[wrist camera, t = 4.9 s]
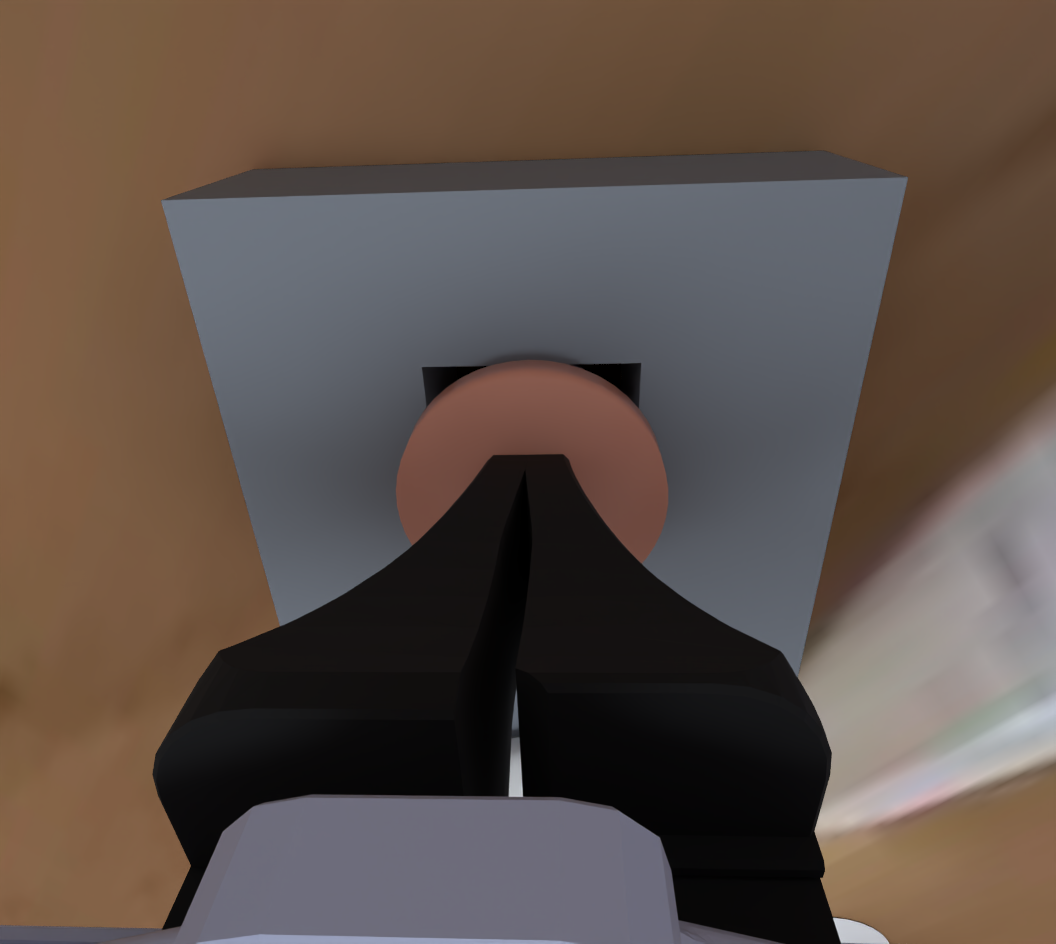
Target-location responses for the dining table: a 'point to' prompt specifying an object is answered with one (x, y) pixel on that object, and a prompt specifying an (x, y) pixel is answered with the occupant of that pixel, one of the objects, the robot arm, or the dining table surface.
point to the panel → (547, 344)
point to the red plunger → (537, 445)
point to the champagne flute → (857, 932)
